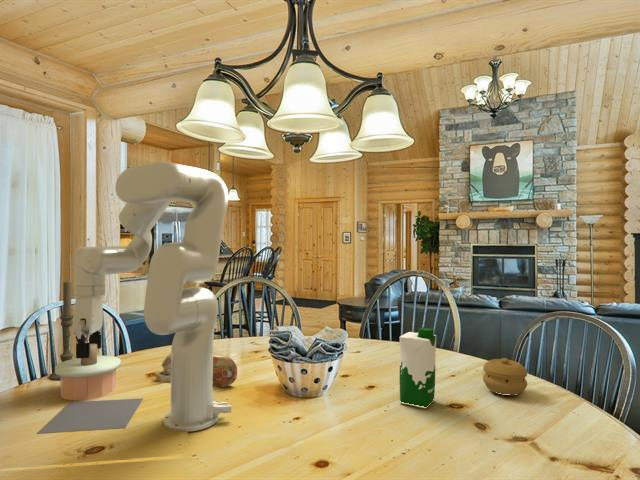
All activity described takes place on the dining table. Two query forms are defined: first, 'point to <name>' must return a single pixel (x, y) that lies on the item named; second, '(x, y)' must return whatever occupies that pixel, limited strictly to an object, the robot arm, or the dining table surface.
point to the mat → (92, 416)
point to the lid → (88, 365)
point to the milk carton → (417, 367)
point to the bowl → (88, 386)
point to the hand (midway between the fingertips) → (89, 353)
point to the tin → (223, 371)
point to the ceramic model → (165, 370)
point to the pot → (505, 376)
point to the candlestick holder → (65, 325)
